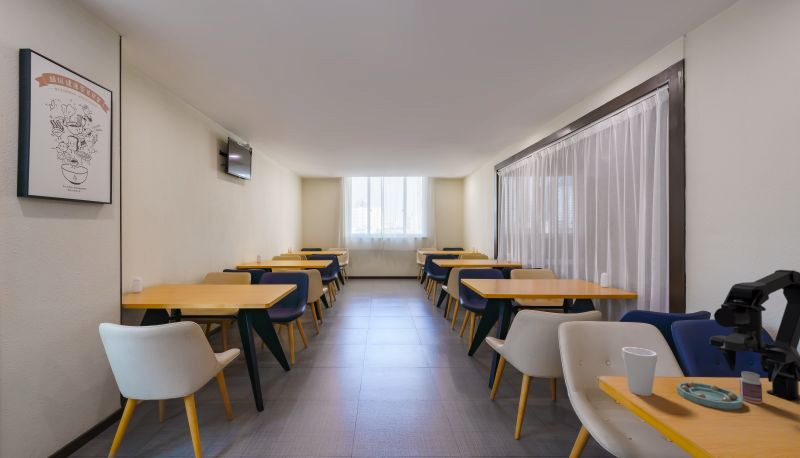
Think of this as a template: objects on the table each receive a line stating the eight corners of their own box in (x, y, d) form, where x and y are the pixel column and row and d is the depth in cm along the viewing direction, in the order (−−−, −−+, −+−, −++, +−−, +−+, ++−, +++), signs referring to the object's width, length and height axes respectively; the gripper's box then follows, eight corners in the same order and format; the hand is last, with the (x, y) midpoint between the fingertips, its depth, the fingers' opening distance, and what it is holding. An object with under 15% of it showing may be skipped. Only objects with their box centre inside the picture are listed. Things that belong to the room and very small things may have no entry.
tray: (698, 385, 118) (697, 377, 118) (754, 405, 104) (754, 396, 104) (666, 391, 113) (666, 382, 113) (720, 413, 99) (720, 403, 99)
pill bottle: (766, 405, 104) (765, 376, 104) (748, 403, 105) (747, 375, 105) (754, 398, 109) (753, 371, 109) (736, 396, 110) (735, 369, 110)
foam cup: (651, 388, 116) (651, 348, 116) (662, 399, 107) (661, 357, 108) (619, 384, 119) (618, 345, 119) (627, 395, 110) (626, 354, 111)
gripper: (697, 320, 114) (699, 368, 114) (772, 335, 97) (774, 391, 96) (720, 318, 118) (721, 364, 117) (796, 331, 100) (798, 386, 99)
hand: (750, 375), depth 107 cm, fingers open, 9 cm apart
